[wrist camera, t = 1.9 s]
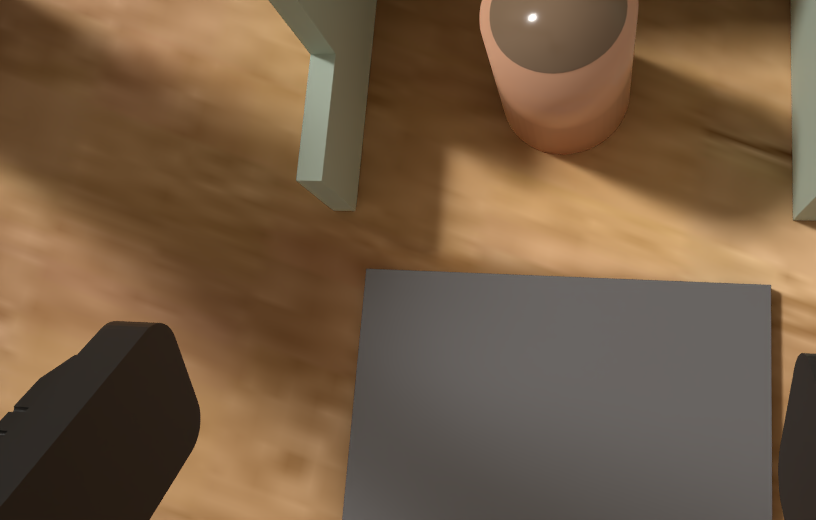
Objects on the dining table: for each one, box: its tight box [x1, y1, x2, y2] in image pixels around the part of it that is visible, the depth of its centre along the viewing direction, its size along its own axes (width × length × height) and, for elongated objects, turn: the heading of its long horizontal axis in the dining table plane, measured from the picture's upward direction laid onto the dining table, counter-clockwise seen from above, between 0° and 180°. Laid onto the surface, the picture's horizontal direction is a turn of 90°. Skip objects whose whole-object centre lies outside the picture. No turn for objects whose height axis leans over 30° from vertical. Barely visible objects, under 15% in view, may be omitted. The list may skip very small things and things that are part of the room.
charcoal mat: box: [342, 269, 772, 520], centre depth 34 cm, size 18×12×1 cm, turn 85°
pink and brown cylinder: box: [480, 0, 639, 154], centre depth 33 cm, size 6×6×8 cm
